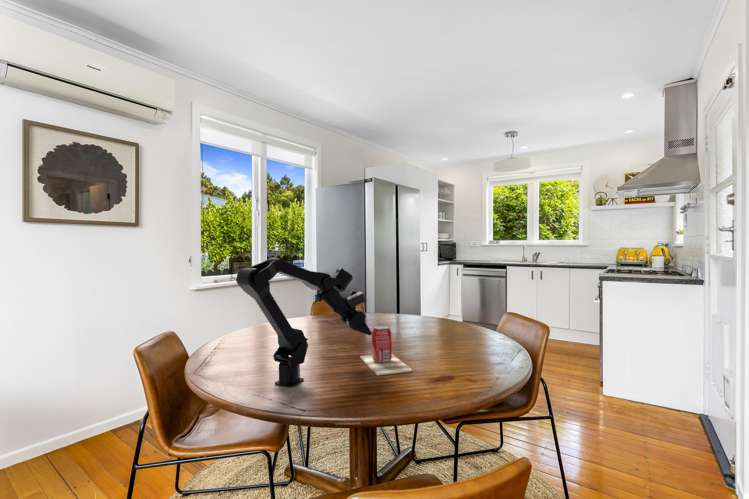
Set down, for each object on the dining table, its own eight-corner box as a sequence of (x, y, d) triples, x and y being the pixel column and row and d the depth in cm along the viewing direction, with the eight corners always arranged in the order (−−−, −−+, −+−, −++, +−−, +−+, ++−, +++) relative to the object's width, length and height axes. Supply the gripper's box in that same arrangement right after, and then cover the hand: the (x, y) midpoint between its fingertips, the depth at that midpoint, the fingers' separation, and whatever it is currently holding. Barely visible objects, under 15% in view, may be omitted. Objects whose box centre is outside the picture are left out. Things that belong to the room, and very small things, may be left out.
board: (411, 371, 123) (411, 369, 123) (377, 375, 119) (377, 373, 119) (390, 354, 142) (390, 353, 142) (360, 357, 138) (360, 356, 138)
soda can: (380, 356, 138) (379, 323, 138) (395, 360, 133) (395, 326, 133) (367, 361, 132) (367, 327, 132) (383, 365, 128) (383, 330, 128)
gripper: (359, 287, 120) (391, 319, 124) (346, 281, 138) (374, 310, 142) (335, 312, 118) (368, 344, 121) (324, 304, 136) (354, 332, 139)
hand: (367, 331), depth 131 cm, fingers open, 9 cm apart
